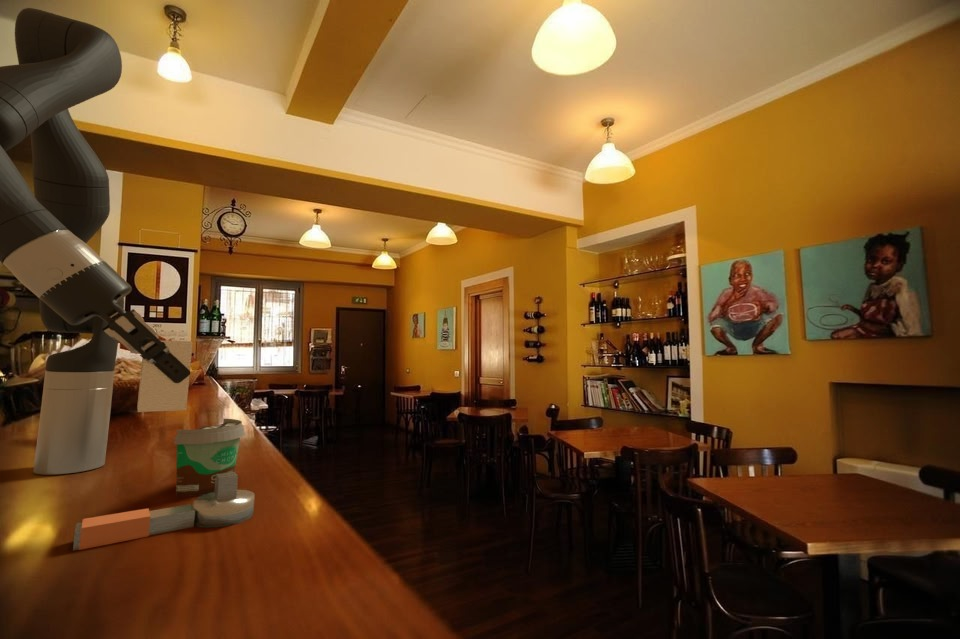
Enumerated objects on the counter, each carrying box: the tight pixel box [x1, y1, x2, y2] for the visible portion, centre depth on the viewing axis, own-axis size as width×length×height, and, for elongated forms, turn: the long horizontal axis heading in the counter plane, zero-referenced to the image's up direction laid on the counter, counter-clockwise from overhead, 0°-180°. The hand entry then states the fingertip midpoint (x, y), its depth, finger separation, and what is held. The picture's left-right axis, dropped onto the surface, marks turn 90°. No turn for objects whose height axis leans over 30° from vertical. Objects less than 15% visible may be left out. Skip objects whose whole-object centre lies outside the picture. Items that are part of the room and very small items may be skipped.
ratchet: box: [72, 471, 256, 551], centre depth 54 cm, size 7×18×6 cm, turn 131°
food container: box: [173, 418, 246, 498], centre depth 69 cm, size 12×6×10 cm, turn 179°
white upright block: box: [136, 339, 194, 413], centre depth 57 cm, size 5×5×9 cm
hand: (181, 377), depth 58 cm, fingers closed on white upright block, 5 cm apart
